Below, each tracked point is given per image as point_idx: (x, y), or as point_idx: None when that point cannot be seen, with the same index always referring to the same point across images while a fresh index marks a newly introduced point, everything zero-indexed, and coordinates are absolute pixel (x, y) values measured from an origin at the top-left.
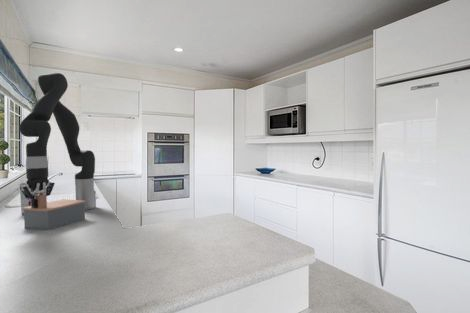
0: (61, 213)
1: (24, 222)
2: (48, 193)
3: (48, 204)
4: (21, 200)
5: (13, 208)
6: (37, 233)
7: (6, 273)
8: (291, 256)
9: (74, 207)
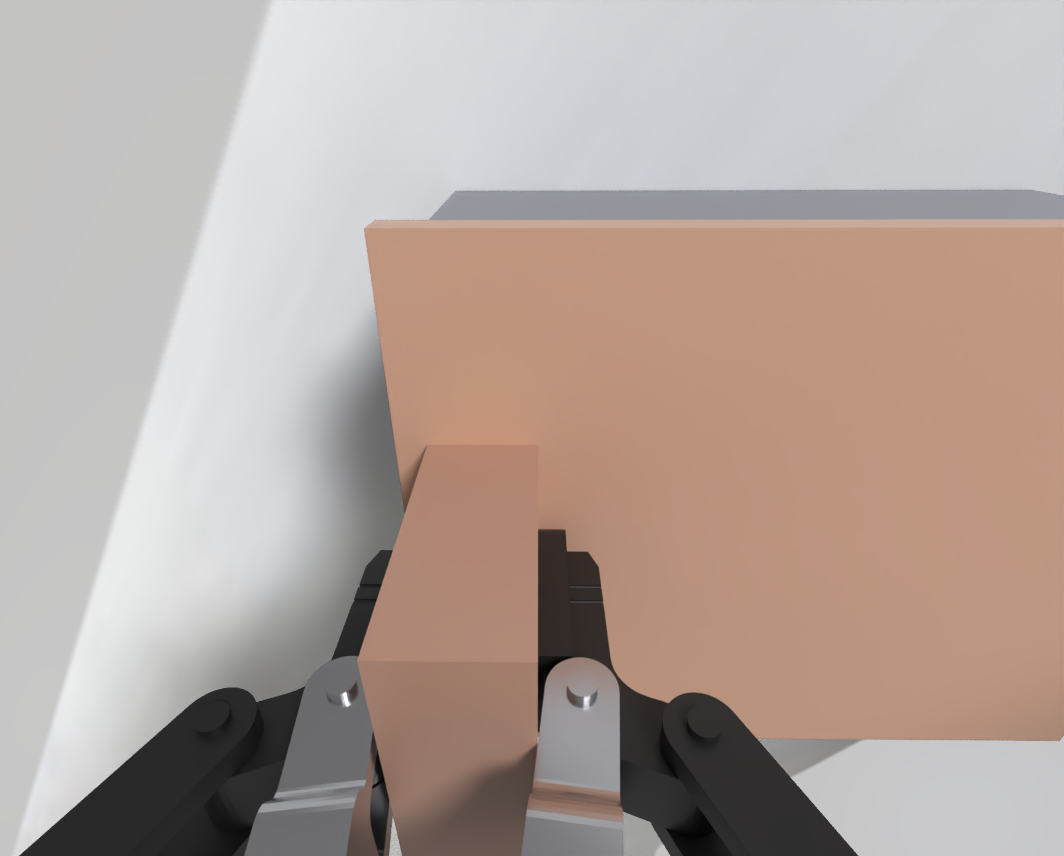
0: None
1: (445, 203)
2: (672, 834)
3: (757, 467)
4: None
5: None
6: (376, 529)
7: (24, 839)
8: None
9: None
